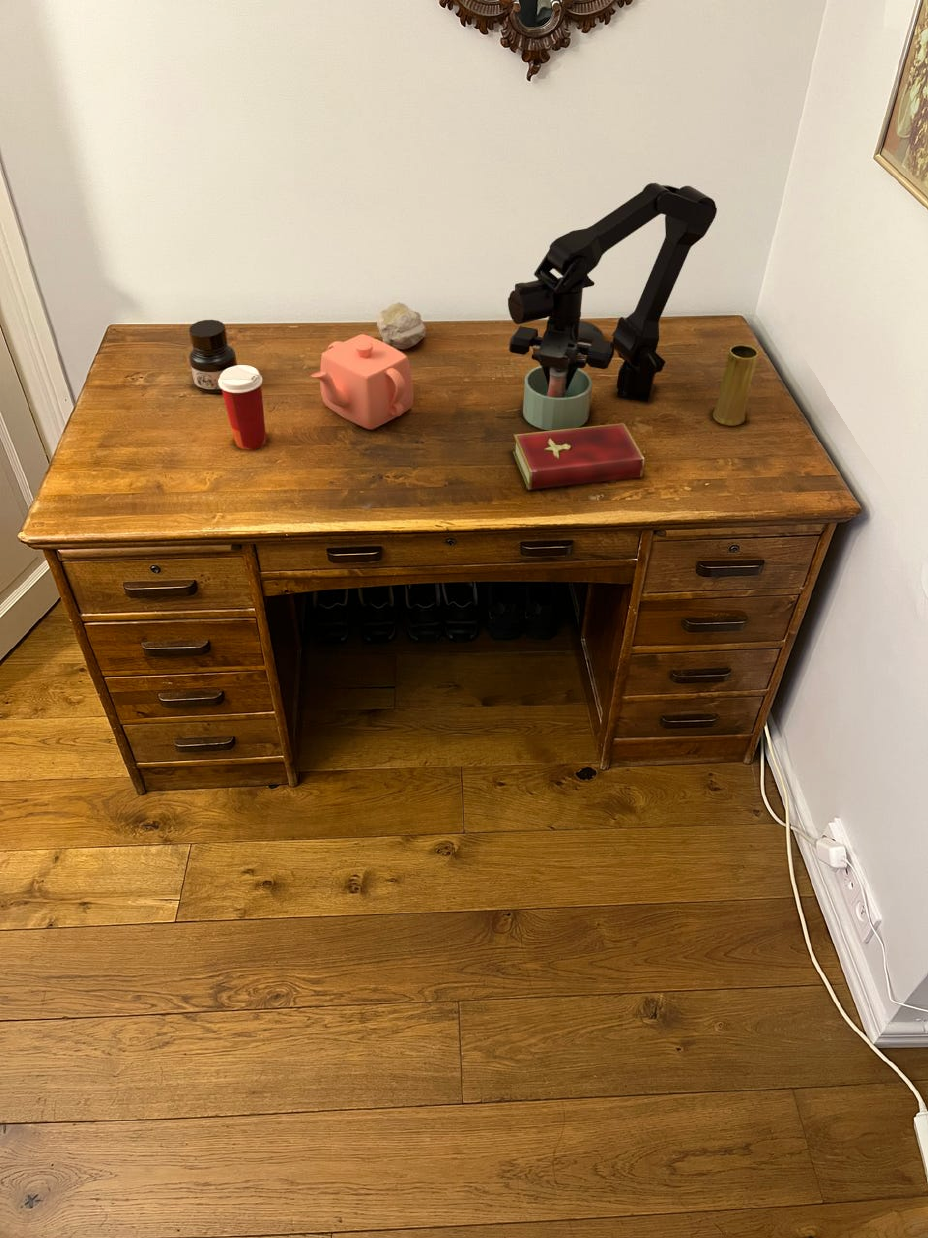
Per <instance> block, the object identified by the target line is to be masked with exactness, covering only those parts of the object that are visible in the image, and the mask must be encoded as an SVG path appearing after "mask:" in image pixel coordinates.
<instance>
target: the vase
mask: <svg viewBox="0 0 928 1238" xmlns="http://www.w3.org/2000/svg"><path fill="white" fill-rule="evenodd" d="M758 357H759V351H758V349H757V348H756V347H754V346H751V345H749V344H735V345H732V346H730V348H729V351H728V354H727V357H726V358H727V359H726V363H725V367H724V371H723V376H722V379H721V384H720V388H719V393H718V397H717V401H716V403H715V408H714V410H713V412H712V417H713V419H714V421H716V422H717V423H718V424H721V425H723V426H729V427H735V426H739V425H741V424H743V423H744V422H745V420H746V410H747V405H748V401H749V397H750V391H751V387H752V386H751V385H752V381H753V377H754V374H755V370H756V366H757V362H758Z"/></svg>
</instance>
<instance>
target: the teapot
mask: <svg viewBox="0 0 928 1238" xmlns="http://www.w3.org/2000/svg"><path fill="white" fill-rule="evenodd" d="M310 377H311V378H314V379H318V380H319V385H320V388H319V389H320V396H321V398H322V401H323V403H324V405H325V406H326V407H327V408H329V409H330V410H331V411H333V412H334V413H335V414H337V415H339V416H340V417H342V418H344V419H345V420H348V421H349V422H351V423H352V424H353V423H354V424H355V425H357V426H360V427H362V428H364V429H366V430H375V429H376V428H379V427H380V426H382V425H384V424H386V423H389V422H390V421H392V420H393V419H395V418H398V417H400V416H402V415H403V414H404V413H405V412H407V411H408V410H410V409H412V408H413V405H414V399H415V396H414V395H415V393H414V392H415V390H414V382H413V381H414V380H413V376H412V370H411V366H410V363H409V357H408V356H407V355H406V354H405V353H403V352H402V351H400V350H399V349H396V348H394V347H391V346H389V345H387V344H386V343H384V342H383V341H381V340H379V339H377V338H374V337H373V336H369V335H368V334H363V333H360V334H359V335H356V336H353V337H351V338H349V339H347V340H345V341H341V340H337V341H334V342H331V343H330V344H329V346H328V347H327V350H325V351H323V352H322V353H321V360H320V369H319V371H316V372H314V373H312V374H311V375H310Z"/></svg>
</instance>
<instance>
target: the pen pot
mask: <svg viewBox="0 0 928 1238" xmlns="http://www.w3.org/2000/svg"><path fill="white" fill-rule="evenodd" d="M548 389H549V386H548V383H547V380H546V377H545V374H544V371H543V369H542V366H541V365H539V366H537V367H533V368H532V369H531V370H529V371H528V372H527V374H526V375H525V377H524V382H523V397H522V398H523V399H522V414H523V417H524V419H525V420H526V421H527V422H528V423H529V424H530V425H532V426H534V427H535V428H538V429H541V430H544V431H553V430H563V429H572V428H581V427H583V425H584V424H585V423H586V422H587V421H588V420H589V415H590V411H591V401H592V394H593V378H591V376H590V375H589V373H587V372H586V371H584V370H583V369H582V368H578V370H577V371H576V373H575V375H574V377H573V379H572V381H571V383H570V386H569V388H568V390H565V395H564V398H554V397H548V396H547V392H548Z"/></svg>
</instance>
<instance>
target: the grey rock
mask: <svg viewBox="0 0 928 1238" xmlns="http://www.w3.org/2000/svg"><path fill="white" fill-rule="evenodd" d="M376 315H377V321H376V327H377V329H378V331H379V332H378V333H379V335H380V336H381V338H382V342H383V343H386V344H387V345H389V346H391V347H393V348H395V349H397V350H407V349H409V348H411V347H413V346H415V345H417V344H418V343H419V342H420V341H421V340H423V338H425V337H426V331H427V327H426V326H425V324H424V322H423V320H422V316H421V314H420V312H418V311H415V310H413V309H411V308H410V307H409V306H408V305H407V304H406V303H404V302H400V301H397V302H396V303H393V304H391V305H390V306H388V307H387V308H385V309H384V310H381V311H379V312H378V313H377V314H376Z"/></svg>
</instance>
